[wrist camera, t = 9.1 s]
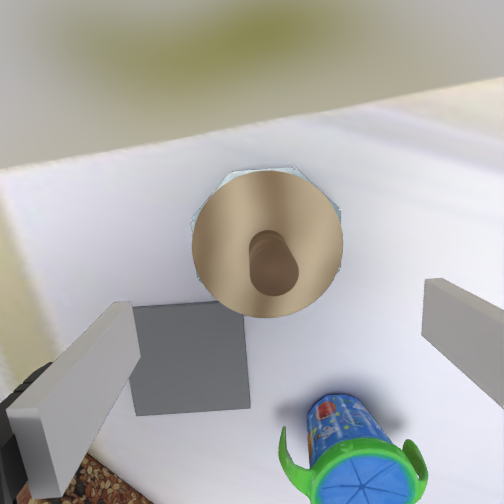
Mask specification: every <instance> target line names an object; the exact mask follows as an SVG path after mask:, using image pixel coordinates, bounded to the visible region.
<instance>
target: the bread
mask: <svg viewBox="0 0 504 504" xmlns="http://www.w3.org/2000/svg"><path fill="white" fill-rule="evenodd" d="M17 500H18V503H19V504H153V503H152V502H151V501H148V500H146V498H145V497H144V496H143V495H142V494H141V493H139V492H136V491H135V490H134V489H133V488H131V487H130V486H129V485H128V484H126V483H125V482H124V481H123V480H122V479H120V478H118V477H117V476H116V475H114V474H110V473H109V472H108V470H107V468H105V467H104V466H102V465H101V464H100V463H99V462H97V461H96V460H95V459H93V458H91V457H89V455H88V454H86V455H85V457H84V458H83V460H82V462H81V464H80V466H79V467H78V469H77V471H76V473H75V474H74V476H73V478H72V480H71V482H70V483H69V485H68V487H67V489H66V490H65V492H64V494H63V496H62V497H57V498H45V499H32V496H31V493H30V490H29V486H28V483H26V484H25V485H24V487H23V488H22V489H21V491H20V492H19V494H18V495H17Z"/></svg>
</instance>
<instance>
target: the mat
mask: <svg viewBox="0 0 504 504" xmlns="http://www.w3.org/2000/svg"><path fill="white" fill-rule="evenodd" d="M132 309H133V315H134V320H135V326H136V332H137V338H138V344H139V350H140V356H141V357H140V359H139V361H138V362H137V364H136V366H135V368H134V369H133V371H132V373H131V375H130V377H129V380H130V385H131V391H132V396H133V402H134V407H135V413H136V416H147V415H161V414H176V413H190V412H205V411H220V410H234V409H249V408H250V396H249V384H248V372H247V360H246V347H245V335H244V323H243V314H241V313H238V312H235V311H233V310H231V309H229V308H228V307H226V306H225V305H223V304H222V303H220V302H219V301H215V302H201V303H187V304H172V305H158V306H144V307H132Z"/></svg>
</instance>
